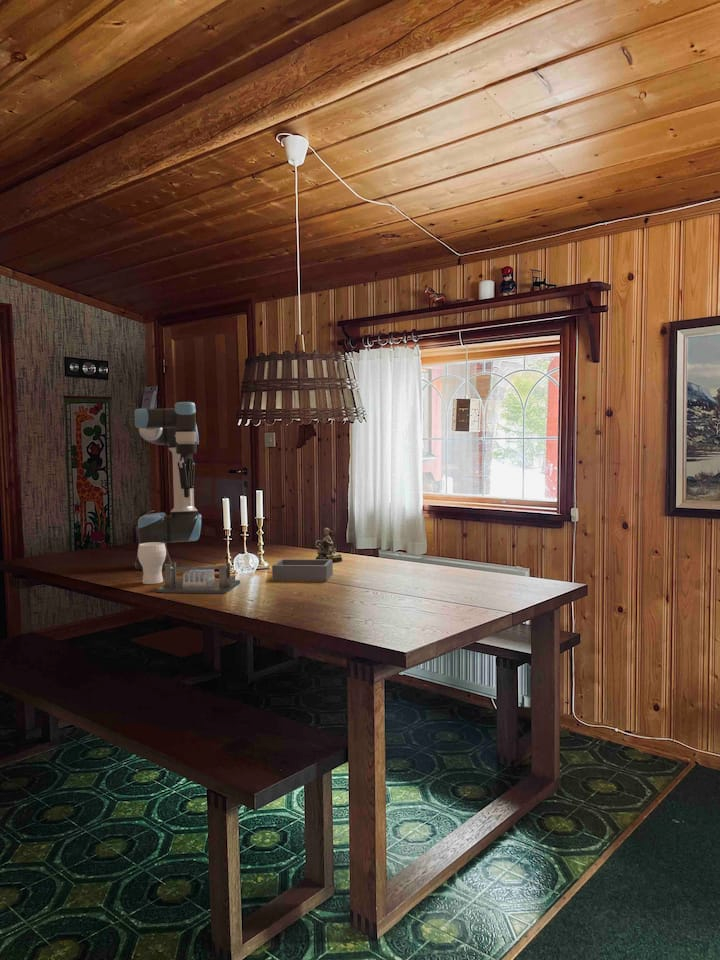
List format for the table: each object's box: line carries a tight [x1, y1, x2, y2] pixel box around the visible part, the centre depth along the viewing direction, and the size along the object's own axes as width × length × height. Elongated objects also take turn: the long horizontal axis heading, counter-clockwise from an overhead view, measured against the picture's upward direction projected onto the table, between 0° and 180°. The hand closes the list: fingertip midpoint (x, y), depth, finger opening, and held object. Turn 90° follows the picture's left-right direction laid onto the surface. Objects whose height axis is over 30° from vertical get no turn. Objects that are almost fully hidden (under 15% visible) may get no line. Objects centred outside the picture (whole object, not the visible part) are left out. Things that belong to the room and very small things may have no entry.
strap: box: [171, 563, 228, 572], centre depth 272 cm, size 23×3×2 cm, turn 83°
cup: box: [137, 542, 166, 585], centre depth 283 cm, size 11×11×15 cm
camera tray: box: [271, 558, 334, 582], centre depth 289 cm, size 14×21×6 cm
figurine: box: [314, 527, 343, 564], centre depth 325 cm, size 12×11×15 cm
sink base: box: [155, 561, 241, 595], centre depth 272 cm, size 26×18×9 cm
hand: (188, 505), depth 275 cm, fingers closed
